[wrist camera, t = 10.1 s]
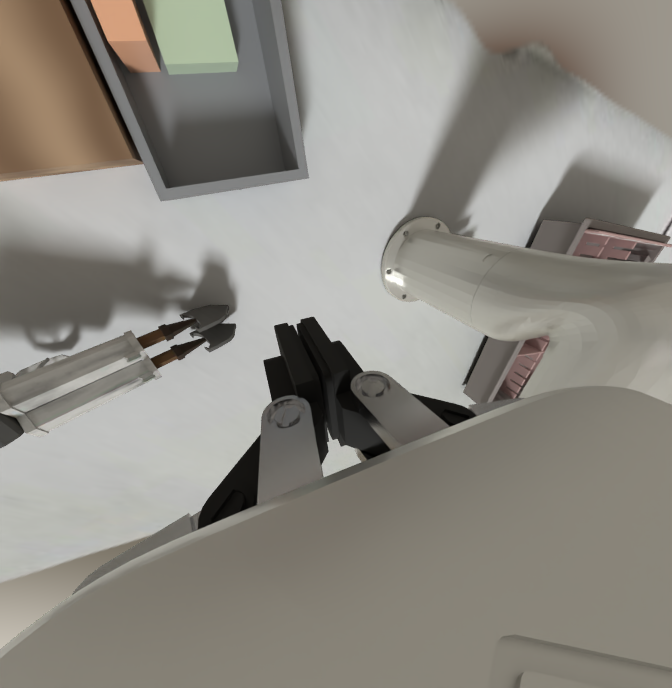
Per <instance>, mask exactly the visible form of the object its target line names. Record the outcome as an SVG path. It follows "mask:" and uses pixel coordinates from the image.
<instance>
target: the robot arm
mask: <svg viewBox="0 0 672 688" xmlns="http://www.w3.org/2000/svg"><path fill="white" fill-rule="evenodd" d="M381 274H382V280H383V283H384V286H385V288H386V289H387V291H388V292H389V293H390V294H391V295H392V296H393V297H395V298H397V299H398V300H401V301H405V302H413V301H417V300H421V301H423V302H425V303H427V304H429V305H431V306H432V307H434V308H436V309H438V310H440V311H442V312H443V313H445V314H447V315H449V316H451V317H453V318H455V319H456V320H458V321H460V322H462V323H464V324H466V325H468V326H469V327H471V328H473V329H475V330H477V331H479V332H481V333H483V334H485V335H486V336H488V337H491V338H493V339H497V340H501V341H522V340H528V339H533V338H538V337H542V336H549V339H550V341H549V345H548V346H547V348H546V350H545V352H544V354H543V358H542V359H541V361H540V363H539V364H538V366H537V367H536V369H535V371H534V372H533V374H532V376H531V377H530V379H529V381H528V382H527V384H526V386H525V387H524V389H523V391H522V392H521V394H520V396H519V397H518V398H515V399H508V400H501V401H494V402H487V403H480V404H473V405H469V407H468V409H467V408H465V407H463V406H460V405H457V404H454V403H449V402H445V401H441V400H437V399H432V398H428V397H424V396H420V395H416V394H411V393H409V392H408V391H407V390H406V389H405V388H403V387H402V386H401V385H400V384H399V383H397V382H396V381H395V380H394V379H393V378H391V377H390V376H389V375H387V374H385V373H382V372H379V371H366V372H363V370H362V369H361V368H360V366H359V365H358V364H357V362H356V361H355V360H354V358H353V357H352V356H351V354H350V353H349V352H348V350H347V349H346V348H345V346H344V345H343V344H342V343H341V342H340V341H335V342H331V341H330V340H329V338H328V337H327V335H326V334H325V332H324V331H323V329H322V328H321V327H320V325H319V324H318V322H317V321H316V319H315V318H314V317H310V318H305V319H301V323H299V324H297V331H298V334H297V332H296V330H295V328H294V326H293V325H290V326H288V324H287V323H284V324H279V325H275V326H274V329H275V333H276V337H277V341H278V345H279V350H280V354H281V356H278V357H274V358H270V359H267V360H263V361H264V366H265V371H266V375H267V380H268V384H269V389H270V393H271V398H272V402H271V403H270V404H269V405H268V406H267V407H266V408H265V410H264V411H263V414H262V420H261V434H260V436H259V437H258V438H257V439H256V441H255V442H254V443H253V444H252V445H251V447H250V448H249V449H248V450H247V452H246V453H245V454H244V455H243V456H242V458H241V459H240V460H239V461H238V463H237V464H236V465H235V466H234V468H233V469H232V470H231V471H230V472H229V474H228V475H227V476H226V477H225V479H224V480H223V481H222V482H221V483H220V485H219V486H218V487H217V488H216V490H215V491H214V492H213V493H212V495H211V496H210V497H209V498H208V500H207V501H206V503H205V504H204V506H203V507H202V510H201V511H200V512H198V513H196V514H195V515H193V516H191V515H190V514H189V513H188V514H187V515H185V516H183V517H182V518H180V519H178V520H177V521H175V522H173V523H172V524H170V525H168V526H167V527H165V528H163V529H162V530H160V531H159V532H157V533H155V534H154V535H152V536H150V537H149V538H147V539H145V540H144V541H142V542H140V543H139V544H137V545H135V546H134V547H132V548H130V549H129V550H127V551H125V552H124V553H122V554H120V555H119V556H117V557H115V558H114V559H112V560H110V561H109V562H107V563H105V564H104V565H102V566H101V567H99V568H98V569H97V570H95V571H94V572H93V573H92V574H90V575H89V576H88V577H87V578H86V579H85V580H84V581H83V582H82V583H81V584H80V585H79V586H78V588H77V589H76V590H75V591H74V593H73V594H72V596H70V597H69V598H67V599H65V600H64V601H62V602H61V603H60V604H58V605H57V606H56V607H54V608H53V609H51V610H50V611H49V612H47V613H46V614H45V615H43V616H42V617H41V618H40V619H38V620H37V621H36V622H34V623H33V624H31V625H30V626H29V627H27V628H26V629H25V630H23V631H22V632H21V633H20V634H18V635H17V636H16V637H14V638H13V639H12V640H11V641H10V642H9V643H7V644H6V645H5V646H4V647H3V648H2V649H0V688H672V264H669V263H651V262H633V261H617V260H607V259H596V258H585V257H579V256H572V255H566V254H559V253H553V252H547V251H541V250H536V249H530V248H524V247H519V246H513V245H508V244H503V243H498V242H492V241H487V240H482V239H477V238H471V237H466V236H461V235H456V234H451V233H450V230H449V229H448V227H447V226H446V225H445V224H444V223H443V222H442V221H440V220H438V219H436V218H432V217H419V218H415V219H413V220H411V221H409V222H407V223H406V224H404V225H403V226H402V227H401V228H400V229H399V230H398V231H397V232H396V233H395V234H394V235H393V237H392V238H391V240H390V241H389V243H388V245H387V247H386V250H385V253H384V255H383V260H382V266H381ZM327 428H328V430H329V433H330V435H331V437H332V439H333V440H334V439H338V441H339V443H340V445H341V446H344V445H348V446H350V447H353V448H355V452H356V454H357V456H358V458H359V459H360V460H361V463H359V464H356V465H354V466H351V467H349V468H347V469H344V470H342V471H339V472H337V473H334V474H332V475H329V476H327V477H323V472H322V466H321V465H322V463H323V461H324V459H325V457H326V455H327V453H328V445H327V442H329V438H328V432H327Z"/></svg>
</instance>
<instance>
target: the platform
mask: <svg viewBox="0 0 672 688" xmlns="http://www.w3.org/2000/svg"><path fill="white" fill-rule="evenodd" d="M139 164H144V163H143V161H142V159H141V156H140V154H139V152H138V150H137V148H136V145H135V143H134V141H133V139H132V136H131V134H130V132H129V130H128V128H127V125H126V123H125V121H124V119H123V116H122V114H121V112H120V110H119V108H118V105H117V103H116V101H115V99H114V97H113V94H112V92H111V90H110V88H109V85H108V83H107V81H106V79H105V77H104V74H103V72H102V70H101V68H100V65H99V63H98V61H97V59H96V57H95V54H94V52H93V50H92V48H91V46H90V43H89V41H88V39H87V37H86V34H85V32H84V30H83V28H82V26H81V23H80V21H79V19H78V17H77V14H76V12H75V10H74V8H73V6H72V3H71V1H70V0H0V181H8V180H16V179H24V178H33V177H41V176H49V175H57V174H65V173H73V172H82V171H90V170H98V169H106V168H114V167H122V166H130V165H139Z"/></svg>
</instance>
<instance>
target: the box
mask: <svg viewBox="0 0 672 688" xmlns="http://www.w3.org/2000/svg"><path fill="white" fill-rule="evenodd" d="M70 1H71V3H72V6H73V8H74V10H75V12H76V14H77V17H78V19H79V21H80V23H81V26H82V28H83V30H84V32H85V34H86V37H87V39H88V41H89V43H90V46H91V48H92V50H93V52H94V54H95V57H96V59H97V61H98V63H99V65H100V68H101V70H102V72H103V74H104V77H105V79H106V81H107V83H108V85H109V88H110V90H111V92H112V94H113V97H114V99H115V101H116V103H117V105H118V108H119V110H120V112H121V114H122V116H123V119H124V121H125V123H126V125H127V128H128V130H129V132H130V134H131V136H132V139H133V141H134V143H135V145H136V148H137V150H138V152H139V154H140V156H141V159H142V161H143V163H144V165H145V168H146V170H147V172H148V174H149V176H150V179H151V181H152V183H153V185H154V187H155V190H156V192H157V194H158V196H159V199H160V201H166V200H167V201H168V200H174V199H181V198H187V197H193V196H200V195H206V194H212V193H219V192H225V191H231V190H238V189H244V188H250V187H256V186H263V185H269V184H275V183H282V182H288V181H294V180H301V179H307V178H309V175H308V169H307V163H306V156H305V150H304V144H303V137H302V131H301V124H300V118H299V112H298V105H297V99H296V93H295V86H294V80H293V73H292V67H291V61H290V54H289V48H288V42H287V35H286V29H285V22H284V16H283V10H282V3H281V0H224V2H225V7H226V11H227V15H228V19H229V24H230V28H231V32H232V36H233V41H234V45H235V49H236V53H237V57H238V67H237V72H219V73H197V74H174V75H169V73H168V70H167V68H166V65H165V63H164V60H163V57H162V54H161V51H160V48H159V46H158V43H157V40H156V37H155V34H154V31H153V28H152V25H151V23H150V20H149V17H148V14H147V11H146V8H145V5H144V3H143V0H135V1H136V4H137V7H138V10H139V13H140V15H141V18H142V21H143V24H144V26H145V29H146V32H147V35H148V38H149V40H150V43H151V46H152V49H153V51H154V54H155V57H156V60H157V63H158V65H159V68H160V71H161V72H142V73H130V71H129V70H128V69H127V67H126V66H125V64H124V63H123V62H122V60H121V59H120V57H119V56H118V55H117V53H116V52H115V51H114V49H113V48H112V46H111V45H110V44H109V42H108V40H107V38H106V36H105V33H104V31H103V29H102V26H101V24H100V22H99V19H98V17H97V14H96V12H95V10H94V7H93V5H92V3H91V0H70Z"/></svg>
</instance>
